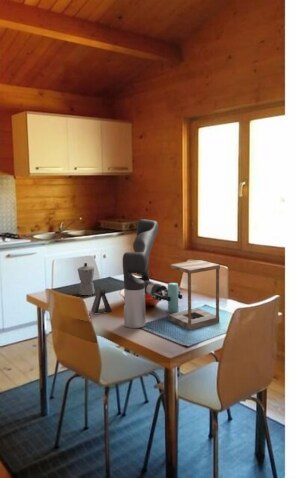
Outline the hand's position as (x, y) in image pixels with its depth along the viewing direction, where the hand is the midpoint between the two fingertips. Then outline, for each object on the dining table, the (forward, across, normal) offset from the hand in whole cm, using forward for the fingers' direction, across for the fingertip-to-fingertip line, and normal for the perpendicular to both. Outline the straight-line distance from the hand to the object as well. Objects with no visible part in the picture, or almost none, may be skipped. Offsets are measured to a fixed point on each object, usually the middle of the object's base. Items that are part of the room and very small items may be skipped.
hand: (175, 298), depth 210 cm
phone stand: (-24, -28, +8) cm, 38 cm away
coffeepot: (-58, -20, +8) cm, 62 cm away
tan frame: (+14, 0, +8) cm, 16 cm away
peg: (-2, 0, +8) cm, 8 cm away
